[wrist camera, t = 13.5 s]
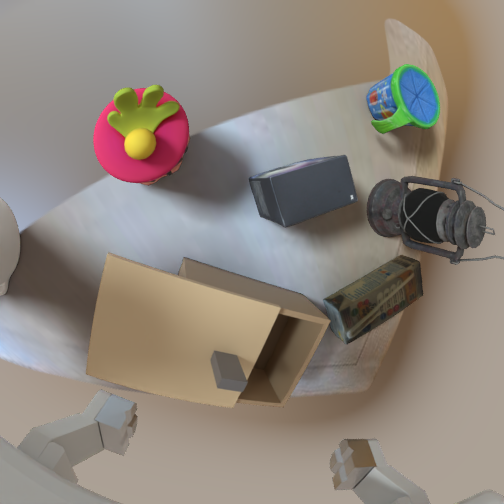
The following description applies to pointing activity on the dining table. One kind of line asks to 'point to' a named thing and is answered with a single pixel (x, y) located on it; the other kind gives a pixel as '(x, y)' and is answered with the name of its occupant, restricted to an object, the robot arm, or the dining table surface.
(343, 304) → the beverage carton
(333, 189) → the small box
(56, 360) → the dining table surface
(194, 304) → the lid flap
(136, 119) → the cake
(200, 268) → the cardboard box
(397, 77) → the snack cup
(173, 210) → the dining table surface
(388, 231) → the lantern
